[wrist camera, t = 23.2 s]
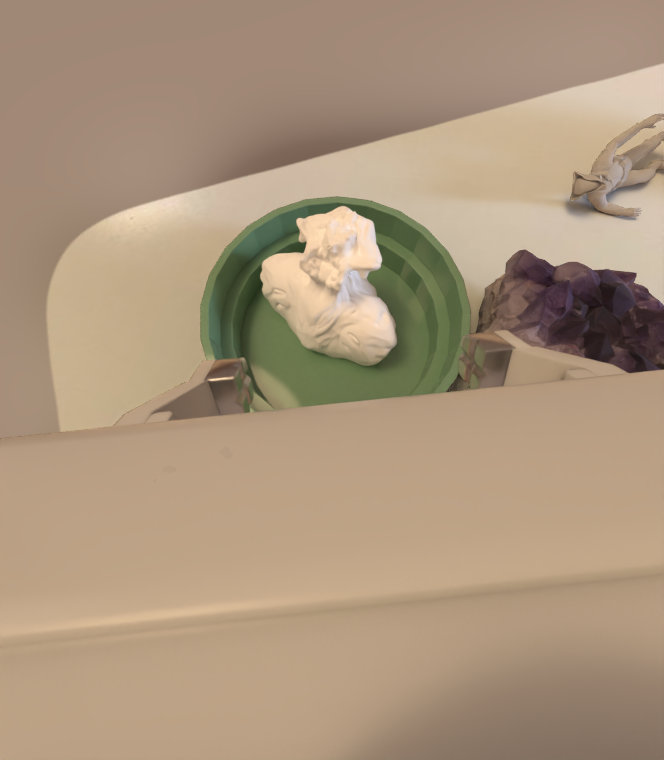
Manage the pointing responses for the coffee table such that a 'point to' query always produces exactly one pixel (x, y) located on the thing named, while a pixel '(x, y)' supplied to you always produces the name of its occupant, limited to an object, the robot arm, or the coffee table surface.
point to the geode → (577, 312)
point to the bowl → (317, 370)
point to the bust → (332, 288)
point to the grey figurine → (618, 170)
